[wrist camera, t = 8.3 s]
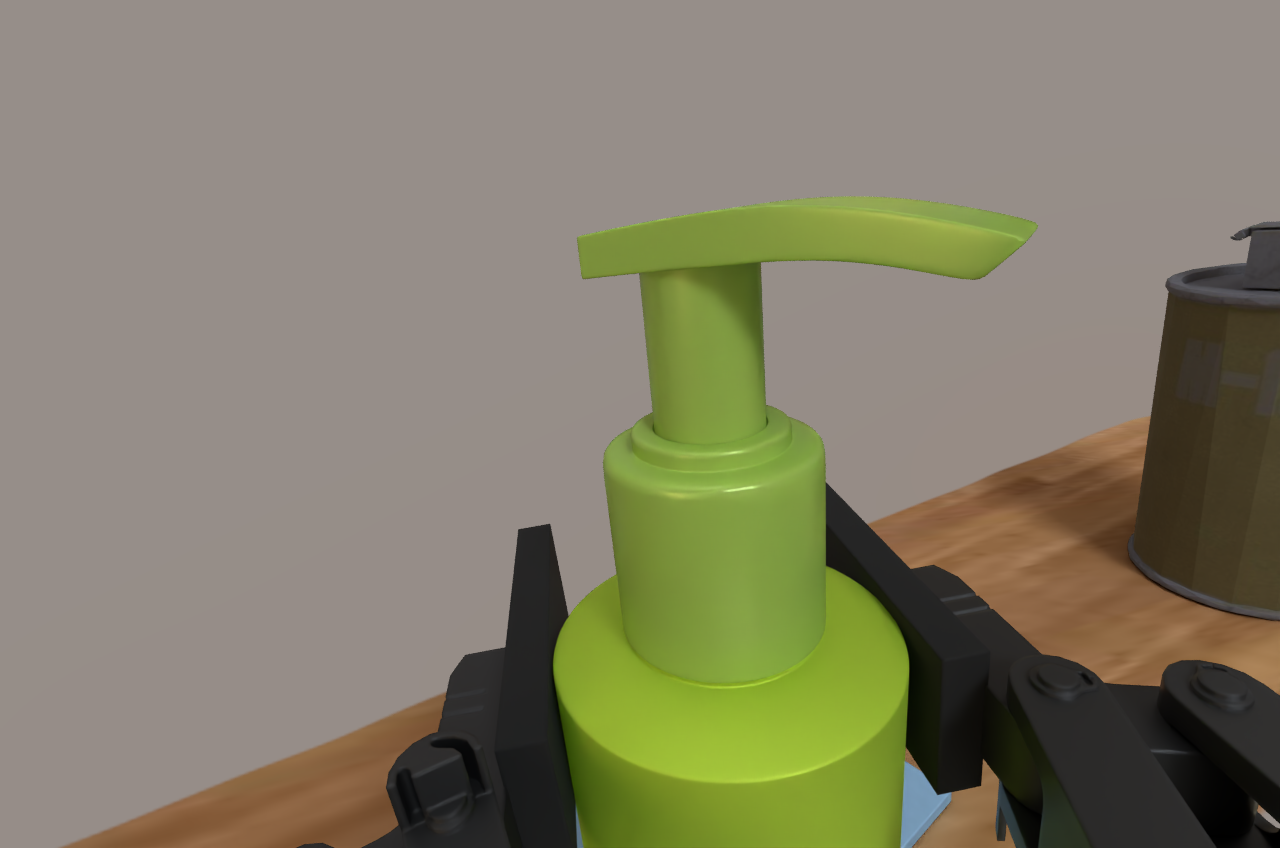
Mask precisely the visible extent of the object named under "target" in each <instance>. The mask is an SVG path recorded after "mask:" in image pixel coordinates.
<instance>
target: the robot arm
mask: <svg viewBox="0 0 1280 848" xmlns="http://www.w3.org/2000/svg"><path fill="white" fill-rule="evenodd" d="M826 566H828V567H830V568H832V569H834V570H836V571H838V572H840V573H842V574H844V575H846V576H847V577H849V578H851V579H852V580H854V581H856V582H857V583H858V584H860V585H861V586H863V587H864V588H865V589H867V590H868V591H869V592H870V593H871V594H873V595H874V596H875V597H876V598H877V599H878V600H879V601H880V603H881V604H882V605H883V606H884V607H885V609H886V610H887V611H888V612H889V613H890V615H891V616H892V617H893V619H894V620H895V621H896V623H897V625H898V627H899V628H900V631H901V633H902V635H903V638H904V640H905V643H906V647H907V651H908V657H909V687H908V707H907V727H906V748H907V749H908V751H909V752H910V754H911V755H912V757H913V758H914V760H915V762H916V763H917V765H918V766H919V768H920V769H921V771H922V772H923V774H924V775H925V777H926V779H927V780H928V782H929V783H930V785H931V786H932V788H933V789H934V791H935V792H936V794H937V795H941V794H946V793H950V792H955V791H959V790H964V789H969V788H973V787H978V786H981V779H982V765H983V759H984V760H985V761H986V763H987V764H988V765H989V767H990V768H991V769H992V771H993V772H994V773H995V774H996V776H997V777H998V778H999V792H998V804H997V816H996V834H997V841H1005V834H1006V824H1007V825H1008V828H1009V830H1010V833H1011V836H1012V838H1013V841H1014V843H1015V846H1016V848H1280V829H1279V828H1276V827H1275V826H1273V825H1272V824H1271V823H1270V822H1268V821H1267V820H1266V819H1265V818H1264V817H1262V816H1261V815H1260V814H1259V813H1258V812H1257V809H1258V805H1260V806H1261V807H1262V808H1263V809H1264V810H1265V811H1266V812H1268V813H1269V814H1270V815H1271V816H1272V817H1273V818H1274V819H1275V820H1276V821H1278V822H1279V823H1280V696H1279V695H1278V694H1277V693H1275V692H1274V691H1273V690H1271V689H1270V688H1269V687H1267V686H1266V685H1264V684H1263V683H1261V682H1259V681H1258V680H1256V679H1254V678H1252V677H1251V676H1249V675H1247V674H1246V673H1243V672H1241V671H1238V670H1235V669H1233V668H1230V667H1227V666H1225V665H1222V664H1217V663H1212V662H1206V661H1201V660H1182V661H1179V662H1176V663H1173V664H1170V665H1168V666H1167V668H1166V669H1165V671H1164V672H1163V674H1162V680H1161V685H1160V686H1141V685H1122V684H1110V683H1104V682H1103V681H1102V680H1101V679H1100V678H1099V677H1098V676H1097V675H1096V674H1095V673H1094V672H1092V671H1090V670H1089V669H1087V668H1085V667H1084V666H1082V665H1080V664H1078V663H1076V662H1073V661H1070V660H1067V659H1064V658H1061V657H1058V656H1050V655H1042V654H1041V653H1040V652H1039V651H1038V650H1037V649H1036V648H1035V647H1033V646H1032V645H1031V644H1030V643H1029V642H1028V641H1027V640H1026V639H1025V638H1024V637H1023V636H1022V635H1020V634H1019V633H1018V632H1017V631H1016V630H1015V629H1014V628H1013V627H1012V626H1011V625H1010V624H1009V623H1008V622H1006V621H1005V620H1004V619H1003V618H1002V617H1001V616H1000V615H999V614H998V613H997V612H996V611H995V610H993V609H990V607H989V605H988V604H987V603H986V602H985V601H984V600H983V599H982V598H980V597H979V596H976V594H975V592H974V591H973V590H972V589H971V588H970V587H969V586H967V585H966V584H965V583H964V582H963V581H962V580H961V579H960V578H959V577H958V576H955V575H953V574H951V573H949V572H947V571H945V570H943V569H941V568H939V567H937V566H935V565H930V566H925V567H919V568H914V569H910V568H909V567H908V566H907V565H906V564H905V563H904V562H903V561H902V560H901V559H900V558H899V557H898V556H897V555H896V554H895V553H894V552H893V551H892V550H891V549H890V548H889V547H888V545H887V544H886V543H885V542H884V541H883V540H882V539H881V538H880V537H879V536H878V535H877V534H876V533H875V532H874V531H873V530H872V529H871V528H870V527H869V526H868V525H867V524H866V523H865V522H864V521H863V520H862V519H861V518H860V517H859V516H858V515H857V514H856V513H855V512H854V511H853V510H852V509H851V508H850V506H848V504H847V503H846V502H845V501H844V500H843V499H842V498H841V497H840V496H839V495H838V494H837V493H836V492H835V491H834V490H833V489H832V488H831V487H830V486H829V485H828V484H827V483H826ZM568 617H569V616H568V611H567V606H566V601H565V596H564V591H563V586H562V581H561V576H560V571H559V566H558V561H557V556H556V551H555V546H554V541H553V536H552V531H551V526H550V524H546V525H541V526H535V527H529V528H524V529H519V530H518V538H517V547H516V556H515V565H514V575H513V584H512V593H511V602H510V611H509V620H508V629H507V639H506V647H505V648H500V649H494V650H489V651H484V652H478V653H473V654H468V655H465V656H464V657H463V659H462V660H461V662H460V663H459V664H458V666H457V667H456V668H455V670H454V671H453V673H452V674H451V676H450V679H449V684H448V689H447V693H446V701H445V702H444V707H443V711H442V719H441V720H440V725H439V729H438V732H436V733H432V734H429V735H427V736H426V737H424V738H422V739H420V740H419V741H417V742H415V743H413V744H412V745H411V746H410V747H409V748H408V749H406V750H405V751H404V752H403V753H402V754H401V755H400V756H399V757H398V758H397V760H396V761H395V763H394V765H393V766H392V768H391V770H390V771H389V774H388V780H387V786H386V789H387V792H388V795H389V798H390V801H391V803H392V806H393V809H394V812H395V815H396V818H397V820H398V823H399V825H398V826H397V827H396V828H395V829H393V830H392V831H391V832H389V833H388V834H386V835H384V836H383V837H381V838H379V839H378V840H376V841H374V842H372V843H370V844H368V845H366V846H364V847H362V848H577V828H576V801H575V796H574V790H573V785H572V779H571V773H570V768H569V762H568V756H567V751H566V745H565V739H564V734H563V728H562V722H561V716H560V711H559V705H558V699H557V694H556V688H555V682H554V675H553V657H554V650H555V646H556V642H557V639H558V636H559V633H560V631H561V629H562V627H563V625H564V623H565V621H566V620H567V618H568ZM297 848H334V847H331V846H329V845H326V844H324V843H314V844H304V845H302V846H299V847H297Z"/></svg>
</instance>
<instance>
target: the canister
mask: <svg viewBox="0 0 1280 848" xmlns="http://www.w3.org/2000/svg"><path fill="white" fill-rule="evenodd" d="M1234 236H1235V237H1231V239H1233V240H1242V238H1246V237H1248V236H1251V242H1250V248H1249V253H1248V259H1247V263H1240V264H1230V265H1222V266H1215V267H1207V268H1200V269H1193V270H1189V271H1185V272H1182V273H1179V274H1175V275H1173V276H1171V277H1170V278H1168V279H1167V282H1166V288H1167V290H1168V291H1169V293H1168V300H1167V307H1166V315H1165V321H1164V329H1163V335H1162V342H1161V350H1160V356H1159V364H1158V370H1157V377H1156V385H1155V391H1154V399H1153V406H1152V412H1151V419H1150V426H1149V433H1148V440H1147V447H1146V454H1145V461H1144V468H1143V475H1142V482H1141V489H1140V496H1139V503H1138V510H1137V517H1136V524H1135V531H1134V533H1133V534H1132V536H1131V537H1130V539H1129V541H1128V551H1129V556H1130V559H1131V560H1132V561H1133V562H1134V564H1135V565H1136V566H1137V567H1138V568H1139V569H1140V570H1141V571H1142V572H1143V573H1144V574H1145V575H1146V576H1147V577H1149V578H1150V579H1152V580H1154V581H1156V582H1157V583H1159V584H1161V585H1162V586H1164V587H1166V588H1167V589H1169V590H1171V591H1173V592H1175V593H1178V594H1180V595H1182V596H1184V597H1186V598H1189V599H1191V600H1194V601H1197V602H1200V603H1203V604H1206V605H1209V606H1212V607H1214V608H1217V609H1220V610H1224V611H1229V612H1234V613H1239V614H1244V615H1249V616H1254V617H1258V618H1263V619H1268V620H1280V222H1263V223H1260V224H1257V225H1253V226H1251V227H1248V228H1246V229H1243V230H1241V231H1239V232H1238V233H1236V234H1235V235H1234Z"/></svg>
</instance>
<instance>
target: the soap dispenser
mask: <svg viewBox="0 0 1280 848" xmlns="http://www.w3.org/2000/svg"><path fill="white" fill-rule="evenodd" d="M1037 227H1038V225H1037V224H1036V223H1035V222H1032V221H1029V220H1026V219H1022V218H1018V217H1014V216H1010V215H1005V214H1001V213H996V212H991V211H986V210H981V209H975V208H969V207H964V206H958V205H951V204H945V203H938V202H930V201H921V200H912V199H901V198H887V197H855V196H854V197H820V198H806V199H794V200H785V201H776V202H770V203H762V204H755V205H748V206H742V207H735V208H729V209H721V210H715V211H708V212H702V213H695V214H689V215H683V216H677V217H672V218H666V219H660V220H655V221H650V222H644V223H639V224H635V225H629V226H625V227H620V228H615V229H610V230H605V231H601V232H596V233H591V234H586V235H582V236H579V237H578V238H577V243H578V250H579V259H580V266H581V275H582V278H583V279H590V278H598V277H607V276H617V275H625V274H636V273H639V275H640V286H641V296H642V306H643V317H644V327H645V337H646V348H647V357H648V369H649V379H650V389H651V399H652V409H653V412H652V413H650V414H648V415H646V416H644V417H643V418H641V419H640V420H639V421H638V422H637V423H636V424H635V425H634V426H633V427H632V428H630V429H628V430H626V431H624V432H623V433H621V434H620V435H618V436H617V437H616V438H615V439H613V440H612V442H611V443H610V444H609V446H608V447H607V449H606V450H605V453H604V460H603V468H604V479H605V487H606V495H607V503H608V510H609V518H610V526H611V534H612V542H613V550H614V558H615V566H616V575H614V576H613V577H611V578H609V579H608V580H606V581H605V582H603V583H602V584H600V585H599V586H598V587H596V588H595V589H594V590H593V591H591V592H590V593H589V594H588V595H587V596H586V597H585V598H584V599H583V600H582V601H581V602H580V603H579V604H578V605H577V606H576V607H575V609H574V610H573V611H572V612H571V614H570V615H569V617H568V618H567V620H566V621H565V623H564V625H563V627H562V629H561V631H560V633H559V636H558V639H557V642H556V646H555V650H554V657H553V675H554V682H555V688H556V694H557V699H558V705H559V711H560V716H561V722H562V728H563V734H564V739H565V745H566V751H567V756H568V762H569V768H570V773H571V779H572V785H573V790H574V796H575V801H576V808H577V813H578V819H579V825H580V830H581V836H582V842H583V848H901V829H902V809H903V788H904V768H905V748H906V727H907V707H908V687H909V657H908V651H907V647H906V643H905V640H904V638H903V635H902V633H901V631H900V628H899V627H898V625H897V623H896V621H895V620H894V619H893V617H892V616H891V615H890V613H889V612H888V611H887V610H886V609H885V607H884V606H883V605H882V604H881V603H880V601H879V600H878V599H877V598H876V597H875V596H874V595H873V594H871V593H870V592H869V591H868V590H867V589H865V588H864V587H863V586H861V585H860V584H858V583H857V582H856V581H854V580H852V579H851V578H849V577H847V576H846V575H844V574H842V573H840V572H838V571H836V570H834V569H832V568H830V567H828V566H826V481H825V480H826V476H825V473H826V470H825V468H826V467H825V466H826V464H825V449H824V444H823V441H822V439H821V437H820V436H819V435H818V433H816V431H815V430H813V429H812V428H811V427H810V426H808V425H807V424H805V423H803V422H801V421H799V420H796V419H793V418H791V417H788V416H787V415H786V414H785V413H784V412H782V411H780V410H778V409H777V408H774V407H772V406H768V405H766V399H765V369H764V340H763V312H762V284H761V262H772V261H773V262H774V261H797V260H799V261H800V260H801V261H803V260H804V261H806V260H816V261H843V262H855V263H866V264H875V265H883V266H891V267H897V268H904V269H909V270H915V271H921V272H926V273H932V274H937V275H943V276H948V277H954V278H960V279H970V280H971V279H972V280H975V279H980V278H982V277H984V276H986V275H987V274H988V273H989V272H991V271H992V270H993V269H995V268H996V267H997V266H998V265H999V264H1001V263H1002V262H1003V261H1004V260H1006V259H1007V258H1008V257H1009V256H1010V255H1012V254H1013V253H1014V252H1015V251H1016V250H1017V249H1019V248H1020V247H1021V246H1022V245H1023V244H1025V243H1026V241H1027V240H1028V239H1029V238H1030V237H1031V236H1032V234H1033V233H1034V232H1035V231H1036V229H1037Z"/></svg>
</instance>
